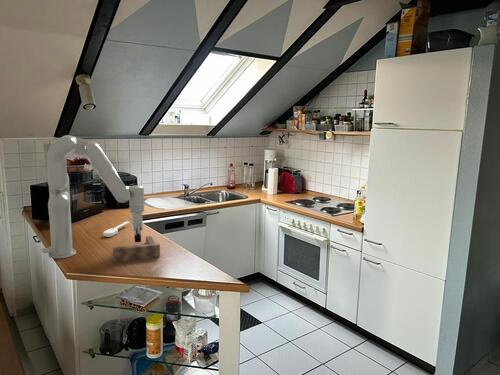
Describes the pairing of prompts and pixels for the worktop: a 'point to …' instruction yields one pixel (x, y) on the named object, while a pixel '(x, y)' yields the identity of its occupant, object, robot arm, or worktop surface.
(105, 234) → the white toy guitar
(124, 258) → the brown angled block
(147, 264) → the worktop surface
